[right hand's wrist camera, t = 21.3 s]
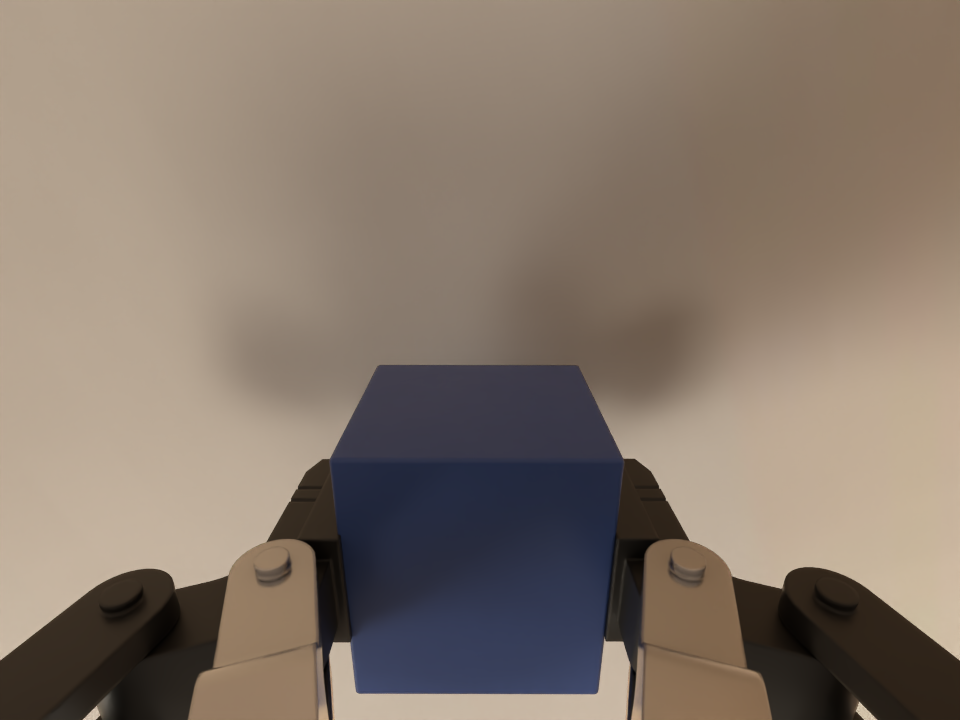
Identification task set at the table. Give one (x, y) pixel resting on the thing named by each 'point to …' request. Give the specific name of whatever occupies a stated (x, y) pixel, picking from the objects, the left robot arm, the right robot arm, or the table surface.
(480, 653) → the block
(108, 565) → the table surface
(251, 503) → the table surface
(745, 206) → the table surface
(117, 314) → the table surface
